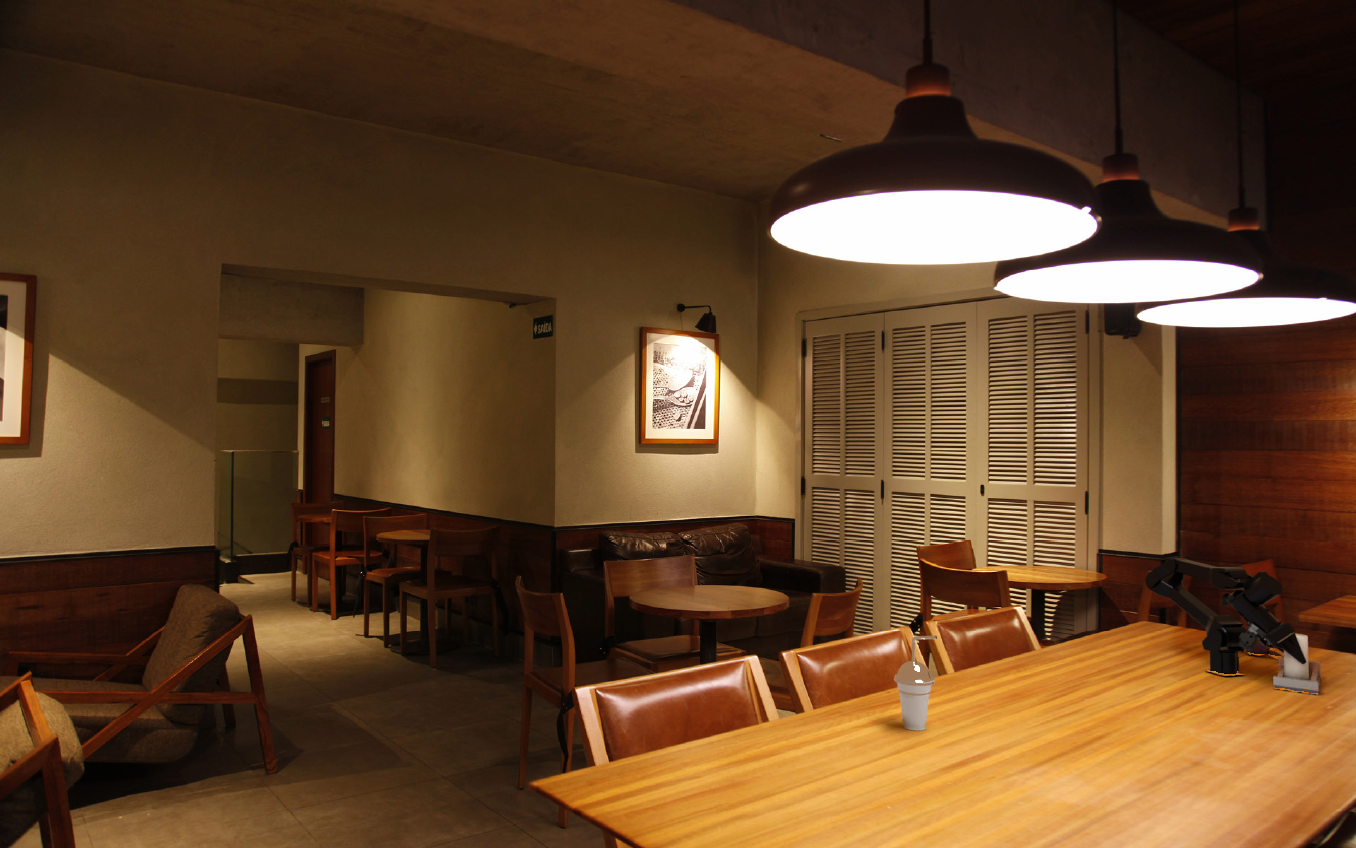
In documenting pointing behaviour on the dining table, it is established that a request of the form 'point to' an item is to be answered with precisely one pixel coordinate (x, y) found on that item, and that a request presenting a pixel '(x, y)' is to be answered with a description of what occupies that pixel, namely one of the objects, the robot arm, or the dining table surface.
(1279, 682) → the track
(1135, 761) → the dining table surface
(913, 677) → the cup with straw
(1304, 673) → the white cylinder
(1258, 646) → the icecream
